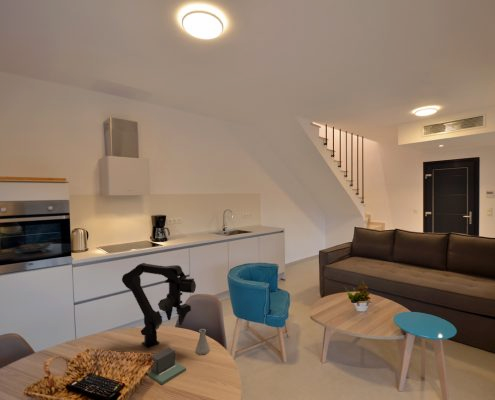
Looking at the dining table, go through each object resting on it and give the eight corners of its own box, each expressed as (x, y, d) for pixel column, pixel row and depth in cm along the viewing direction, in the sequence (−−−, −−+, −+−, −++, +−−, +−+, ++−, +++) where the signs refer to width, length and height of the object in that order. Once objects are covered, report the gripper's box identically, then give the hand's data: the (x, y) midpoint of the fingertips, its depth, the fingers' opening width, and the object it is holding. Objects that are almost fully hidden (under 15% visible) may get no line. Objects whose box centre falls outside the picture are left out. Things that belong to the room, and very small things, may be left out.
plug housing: (151, 370, 116) (151, 356, 116) (168, 360, 123) (168, 347, 123) (156, 374, 114) (157, 359, 114) (174, 364, 121) (174, 350, 121)
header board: (140, 369, 119) (140, 356, 119) (164, 357, 128) (164, 345, 128) (161, 384, 109) (161, 370, 109) (186, 370, 118) (186, 357, 118)
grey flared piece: (206, 355, 129) (207, 334, 129) (192, 354, 131) (192, 333, 131) (212, 347, 136) (212, 327, 136) (198, 346, 138) (198, 326, 138)
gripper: (149, 291, 137) (149, 323, 137) (172, 300, 126) (172, 334, 126) (168, 286, 146) (168, 315, 146) (191, 293, 134) (191, 325, 134)
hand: (174, 322), depth 138 cm, fingers open, 9 cm apart
